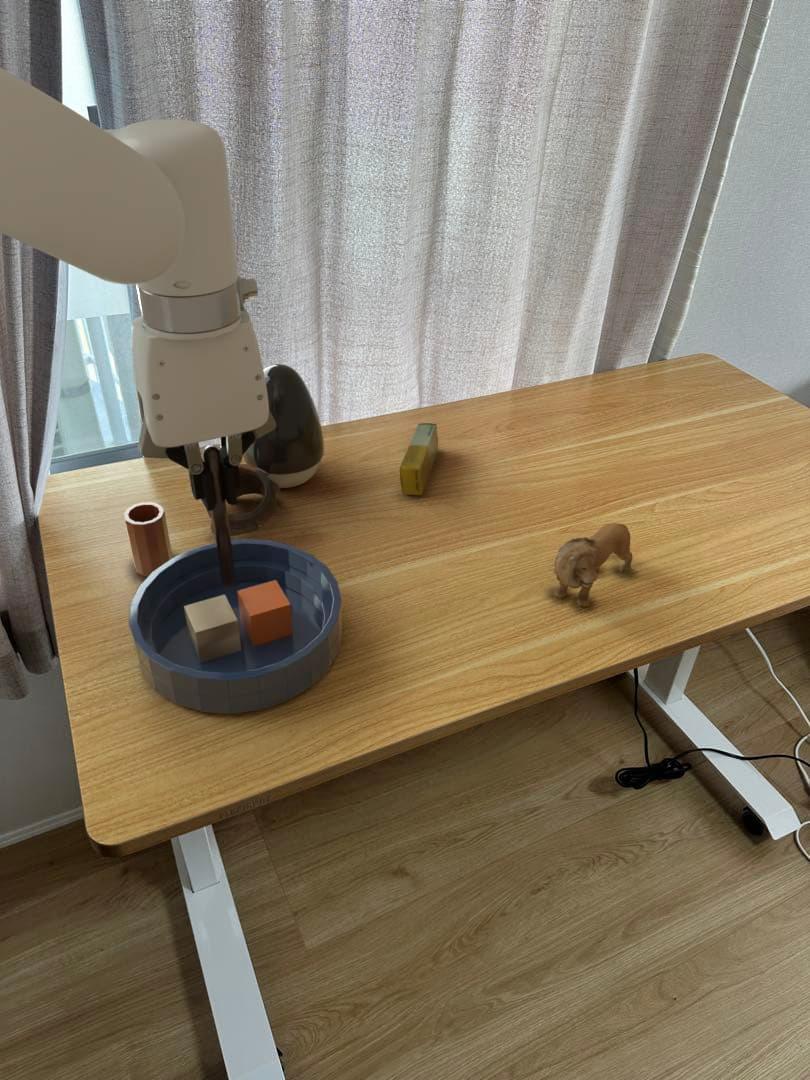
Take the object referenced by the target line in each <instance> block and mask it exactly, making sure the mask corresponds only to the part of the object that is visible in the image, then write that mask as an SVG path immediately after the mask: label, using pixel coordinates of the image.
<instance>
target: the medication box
mask: <svg viewBox="0 0 810 1080" xmlns="http://www.w3.org/2000/svg"><path fill="white" fill-rule="evenodd" d="M438 435H439V434H438V426H437V423H431V422H428V423H427V422H422V423H421V422H420V423H418V424H417V425H416V427H415V430H414V433H413V435H412V437H411V440H410V442H409V445H408V447H407V449H406V452H405V454H404V457H403V459H402V461H401V464H400V466H399V475H400V476H399V478H400V487H401V493H402V495H407V496H408V495H409V496H422V495H423V492H424V490H425V487H426V485H427V482H428V479H429V476H430V474H431V471H432V468H433V465H434V463H435V460H436V458H437V455H438V452H439V438H438V437H439V436H438Z"/></svg>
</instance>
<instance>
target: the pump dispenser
mask: <svg viewBox="0 0 810 1080" xmlns="http://www.w3.org/2000/svg"><path fill="white" fill-rule="evenodd" d="M263 370H264V376H265V382H266V388H267V395H268V405H269V410H270V412H271V414H272V416H273V418H274V420H275V422H276V427H275V429H274V430H272V431H270V432H268V433H267V434H265V435H263V436H261V437H259V438H256V439H255V441H254V442H253V443H252V445H251V446H250V447H249V448H248V450H247V451H246V452H245V453H244V454H243V456H242V457H243V459H242V461H244V462H245V464H247V465H251V466H254V467H256V468H259V469H262V470H264V471H265V472H267V473H268V474H269V476H267V477H268V478H270V479H271V480H273V481H274V482H275V483H277V484H278V485H279V487H280V489H285V488H286V489H287V488H293V487H297V486H300V485H302V484H304V483H306V482H307V481H309V480H310V479H311V478H312V477H313V476H314V475H315V474H316V472H317V471H318V469H319V467H320V464H321V461H322V459H323V457H324V455H325V441H324V434H323V429H322V423H321V420H320V416H319V413H318V410H317V406H316V404H315V402H314V399H313V397H312V394H311V392H310V390H309V388H308V386H307V384H306V383H305V381H304V379H303V378H302V377H301V375H300V374H299V372H297V370H295V368H293V367H291V366H290V365H286V364H283V363H275V364H270V365H268V366H267V367H264V368H263Z"/></svg>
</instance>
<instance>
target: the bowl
mask: <svg viewBox="0 0 810 1080" xmlns="http://www.w3.org/2000/svg"><path fill="white" fill-rule="evenodd" d="M231 545H232V553H233V560H234V568H235V576H236V584H235V585H234V586H233V587H232V588H226V587H224V586H223V585H222V582H221V575H220V568H219V561H218V554H217V547H216V542H212V543H208V544H204V545H200V546H196V547H194V548H192V549H189V550H187V551H185V552H182V553H180V554H178V555H176V556H173V558H172V559H170V560H169V561H167V562H166V563H165V564H163V565H162V566H160V567H159V568H157V569H156V570H154V571H153V572H152V573H151V574H150V575H149V576H148V577H146V579H145V580H144V581H142V582H141V584H140V585H139V586H138V588H137V590H136V592H135V594H134V596H133V599H132V600H131V602H130V605H129V612H128V613H129V615H128V628H129V630H130V631H129V632H130V634H131V635H130V636H131V641H132V644H133V649H134V653H135V657H136V660H137V663H138V666H139V669H140V671H141V675H142V677H143V678H144V679H145V680H146V681H147V683H148V684H149V685H150V686H151V687H152V688H153V690H154V691H155V692H156V693H158V694H159V695H161V696H162V697H165V698H166V699H167V700H169V701H171V702H173V703H174V704H176V705H178V706H182V707H185V708H188V709H191V710H195V711H198V712H203V713H211V714H212V713H214V714H228V715H232V714H242V713H247V712H248V713H249V712H255V711H261V710H265V709H268V708H271V707H273V706H276V705H279V704H282V703H286V702H288V701H290V700H292V699H293V698H295V697H298V696H299V695H300V694H302V693H303V692H305V691H307V690H308V689H310V688H312V687H313V686H314V685H315V684H316V683H317V682H318V681H319V680H320V679H321V678H322V677H323V676H324V675H325V674H327V672H328V671H330V668H331V667H332V665H333V663H334V661H335V659H336V657H337V656H338V654H339V652H340V650H341V649H340V648H341V643H342V636H343V604H342V603H343V602H342V595H341V590H340V586H339V582H338V581H337V579H336V578H335V576H334V575H333V573H332V571H331V570H330V568H329V567H328V566H327V565H326V564H325V563H323V562H322V561H321V560H320V559H318V558H317V557H316V556H314V555H313V554H311V553H309V552H307V551H304V550H303V549H300V548H299V547H297V546H295V545H291V544H288V543H283V542H280V541H279V542H278V541H274V540H271V539H258V538H257V539H255V538H241V539H231ZM274 580H277V582H278V584H279V586H280V587H281V589H282V591H283V592H284V594H285V596H286V598H287V599H288V601H289V603H290V605H291V620H292V635H289V636H286V637H283V638H280V639H276V640H273V641H270V642H267V643H264V644H260V645H257V646H253V644H252V642H251V640H250V638H249V636H248V634H247V632H246V630H245V628H244V626H243V624H242V622H241V618H240V610H239V602H238V594H237V591H239V590H242V589H246V588H249V587H253V586H256V585H260V584H263V583H267V582H270V581H274ZM222 595H225V596H226V598H227V600H228V602H229V604H230V606H231V608H232V610H233V612H234V614H235V616H236V618H237V620H238V627H239V635H240V643H241V651H238V652H235V653H232V654H228V655H225V656H222V657H219V658H216V659H212V660H209V661H206V662H203V663H200V661H199V659H198V656H197V654H196V651H195V649H194V647H193V644H192V642H191V639H190V637H189V632H188V627H187V621H186V616H185V610H184V606H186V605H190V604H193V603H197V602H200V601H204V600H207V599H211V598H214V597H218V596H222Z"/></svg>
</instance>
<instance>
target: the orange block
mask: <svg viewBox="0 0 810 1080" xmlns="http://www.w3.org/2000/svg"><path fill="white" fill-rule="evenodd" d="M237 594H238V602H239V610H240V618H241V622H242V624H243V626H244V628H245V630H246V632H247V634H248V636H249V638H250V640H251V642H252V644H253V646H257V645H260V644H264V643H267V642H270V641H273V640H276V639H280V638H283V637H286V636H289V635H292V620H291V605H290V603H289V601H288V599H287V598H286V596H285V594H284V592H283V591H282V589H281V587H280V586H279V584H278V582H277V580H274V581H270V582H267V583H263V584H260V585H256V586H253V587H249V588H246V589H242V590H239V591H237Z"/></svg>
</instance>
